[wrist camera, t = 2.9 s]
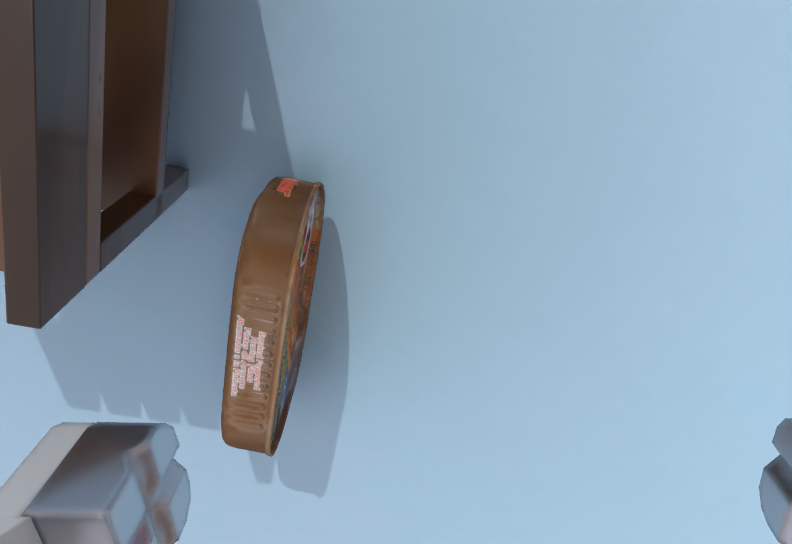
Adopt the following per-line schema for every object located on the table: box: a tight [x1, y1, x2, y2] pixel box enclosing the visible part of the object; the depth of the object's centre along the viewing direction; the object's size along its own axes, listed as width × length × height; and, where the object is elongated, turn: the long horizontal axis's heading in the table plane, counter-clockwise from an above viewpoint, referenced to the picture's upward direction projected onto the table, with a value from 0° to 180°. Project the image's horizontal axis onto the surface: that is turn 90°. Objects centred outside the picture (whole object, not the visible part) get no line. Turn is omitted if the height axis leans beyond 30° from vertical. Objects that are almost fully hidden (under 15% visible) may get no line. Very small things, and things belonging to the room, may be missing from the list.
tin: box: [221, 177, 325, 457], centre depth 30 cm, size 15×3×8 cm, turn 168°
